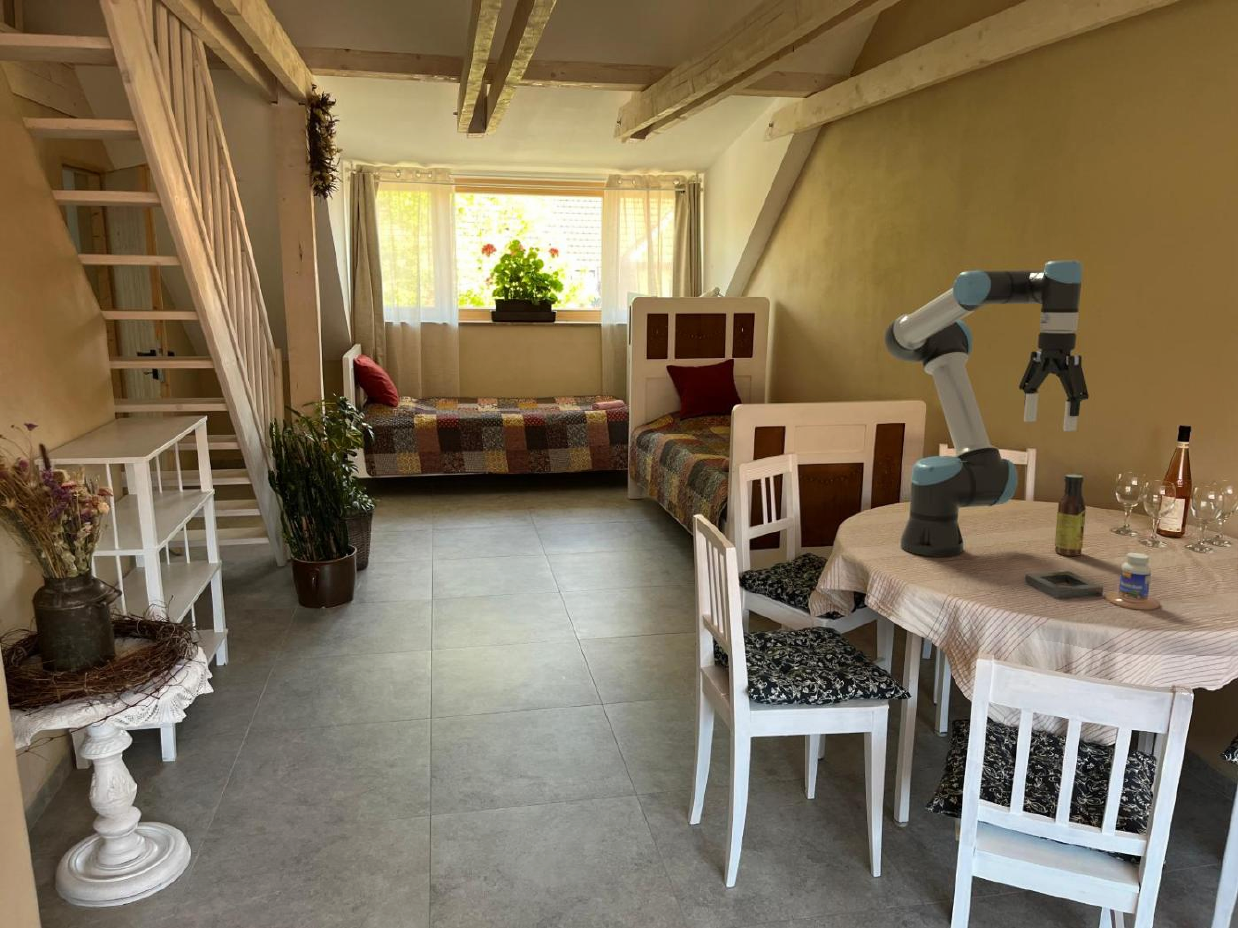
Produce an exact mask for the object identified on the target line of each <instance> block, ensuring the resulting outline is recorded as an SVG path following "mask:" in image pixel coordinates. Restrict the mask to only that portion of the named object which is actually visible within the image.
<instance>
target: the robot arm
mask: <svg viewBox="0 0 1238 928" xmlns="http://www.w3.org/2000/svg"><path fill="white" fill-rule="evenodd" d="M1082 283H1083V264H1082V262H1080V261H1079V260H1051V261H1050V260H1049V261H1047V262H1046V263H1045V264H1044V269H1043V270H1029V269H1027V270H1026V269H1025V270H976V269H975V270H969V271H968V270H967V271H963V272H960V273H959V274H958V275H957V276H956V279H955V280H954V281H953V285H952V287H951V288H950V289H948V290H947V291H946V292H944V293H942V294H941V295H939V296H937V297H936V298H935V299H934V298H933V300H931V301H929V302H928V303H926V304H925V305H923V306H922V307H921V308H919V309H916V310H915V311H913V312H911V313H905V314H902V315H900V316H898V317H897V318H896V319H894V320H893V321H892V322H890V324H889V325H888V327H887V329H886V331H885V334H884V345H885V347H886V349H887V351H888V353H890V355H892V356H893V357H894V358H895V359H897V360H899V361H901V362H902V361H903V362H908V363H910V362H911V363H917V362H918V363H919V362H921V363H922V366H923V369H924V372H925V373H926V374H928V375H931V376H932V378H933V382H934V386H935V388H936V391H937V395H938V396H937V397H938V399H939V402H940V405H941V408H942V412H943V414H944V418H945V421H946V425H947V428H948V431H949V434H950V437H951V441H952V444H953V447H954V450H955V455H954V456H952V455H942V456H940V455H935V456H934V455H933V456H928V457H923V458H921V459H918V460H917V461H916V462H915V463H914V464H913V466H912V472H911V477H910V482H911V485H910V499H909V500H910V501H909V516H908V517H909V518H908V520H907V523H906V525H905V527H904V530H903V533H902V535H901V538H900V548H901V547H902V548H903V550H904V551H906V552H908V551H911V552H913V553H912V554H914V553H916V554H915V555H919V554H921V555H920V556H926V557H936V558H945V557H946V558H948V557H955V556H958V555H962V553H963V551H964V540H963V536H962V533H961V528H960V525H959V510H960V509H959V508H972V507H973V508H974V507H992V506H997V505H1003V504H1006V503H1007V502H1009V501H1010V500H1012V498H1013V496H1014V495H1015V492H1016V489H1017V486H1018V472H1017V468H1016V466H1015V464H1014V463H1013V462H1011V460H1009V459H1007V458H1002V456H1001V453H1000V450H999V448H998V447H996V446H995V445H992V444H991V442H990V440H989V436H988V434H987V430H986V427H985V425H984V421H983V417H982V415H981V411H980V409H979V404H978V402H977V399H976V396H975V394H974V390H973V387H972V384H971V380H970V377H969V374H968V371H967V369H966V364H967V362H968V361H969V356H970V355H971V352H972V351H973V345H972V343H973V335H972V332H971V329H970V327H969V326H968V325H967V323H965V322H964V321H963V320H962V319H963V318H966V317H967V316H968V315H970V314H972V313H974V312H975V311H978V310H980V309H981V308H983V307H985V306H988V305H1022V304H1023V305H1032V304H1033V305H1035V304H1036V305H1041V307H1040V319H1039V320H1040V321H1039V329H1040V330H1041V332H1039V334H1038V339H1037V340H1038V341H1037V348H1038V349H1039V350H1040V351H1038V350H1037V351H1031V352H1030V358H1029V362H1028V365H1027V366H1026V369H1025V371H1024V374H1023V376H1022V378H1021V380H1020V381H1021V382H1020V383H1019V386H1018V389H1019V390H1020V391H1021V390H1022V391H1023V392H1024V394H1025V395H1024V413H1023V422H1025V423H1027V422H1028V423H1029V422H1032V423H1033V422H1037V417H1038V416H1037V414H1038V413H1037V412H1038V405H1039V404H1038V402H1039V391H1038V390H1039V388H1040V387H1041V385H1042V384H1043V382H1044V381H1045V380H1046V378H1047V377H1048V376H1049V374H1051V375H1056V377H1058V378H1059V380H1060V381H1059V382H1061V385H1062V387H1063V390H1064V391H1065V394H1066V396H1067V399H1066V401H1065V406H1064V416H1063V417H1064V418H1063V428H1062V431H1064V432H1074V431H1077V426H1078V425H1077V424H1078V417H1079V415H1080V408H1081V402H1082V401H1084V400H1088V399H1089V396H1090V395H1089V391H1088V389H1087V383H1086V379H1085V375H1084V371H1083V366H1082V362H1083V361H1082V355H1072V354H1071V353H1072V352H1071V351H1073V350H1075V349H1076V343H1077V342H1076V341H1077V334H1076V332H1074V331H1077V330H1078V323H1079V311H1080V309H1079V308H1080V300H1081V298H1080V297H1081V291H1082V290H1081V289H1082ZM902 548H901V549H902ZM911 552H910V553H911Z"/></svg>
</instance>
